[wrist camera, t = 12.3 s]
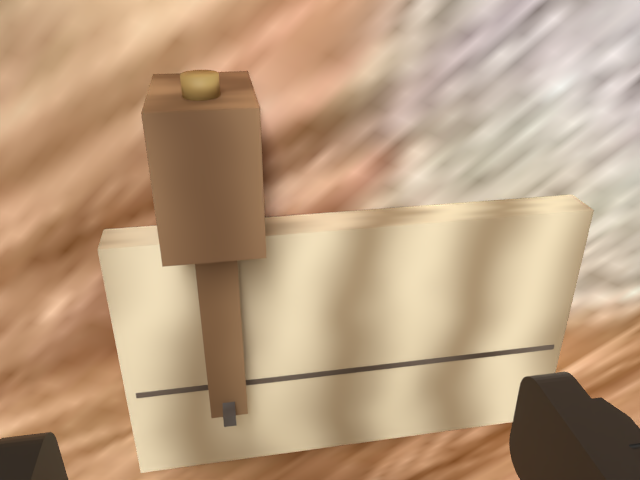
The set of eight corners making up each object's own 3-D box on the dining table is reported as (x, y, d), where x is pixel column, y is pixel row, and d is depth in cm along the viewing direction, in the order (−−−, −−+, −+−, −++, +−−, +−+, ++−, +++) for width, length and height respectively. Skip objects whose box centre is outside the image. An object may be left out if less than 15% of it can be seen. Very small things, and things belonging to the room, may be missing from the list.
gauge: (246, 52, 26) (259, 84, 20) (262, 361, 34) (274, 442, 28) (150, 55, 25) (138, 89, 20) (189, 370, 33) (188, 454, 28)
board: (572, 194, 32) (594, 210, 30) (528, 395, 38) (545, 418, 37) (103, 229, 28) (97, 250, 26) (143, 445, 35) (140, 473, 33)
